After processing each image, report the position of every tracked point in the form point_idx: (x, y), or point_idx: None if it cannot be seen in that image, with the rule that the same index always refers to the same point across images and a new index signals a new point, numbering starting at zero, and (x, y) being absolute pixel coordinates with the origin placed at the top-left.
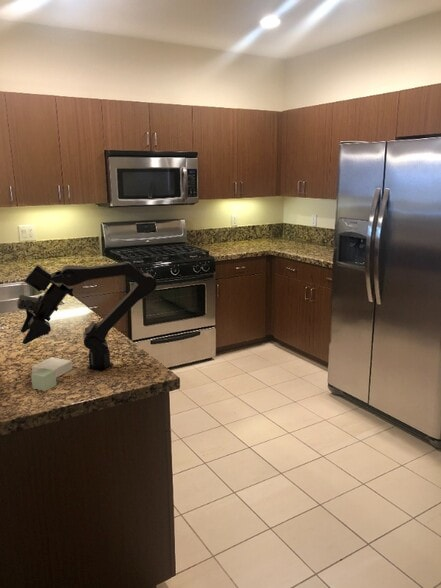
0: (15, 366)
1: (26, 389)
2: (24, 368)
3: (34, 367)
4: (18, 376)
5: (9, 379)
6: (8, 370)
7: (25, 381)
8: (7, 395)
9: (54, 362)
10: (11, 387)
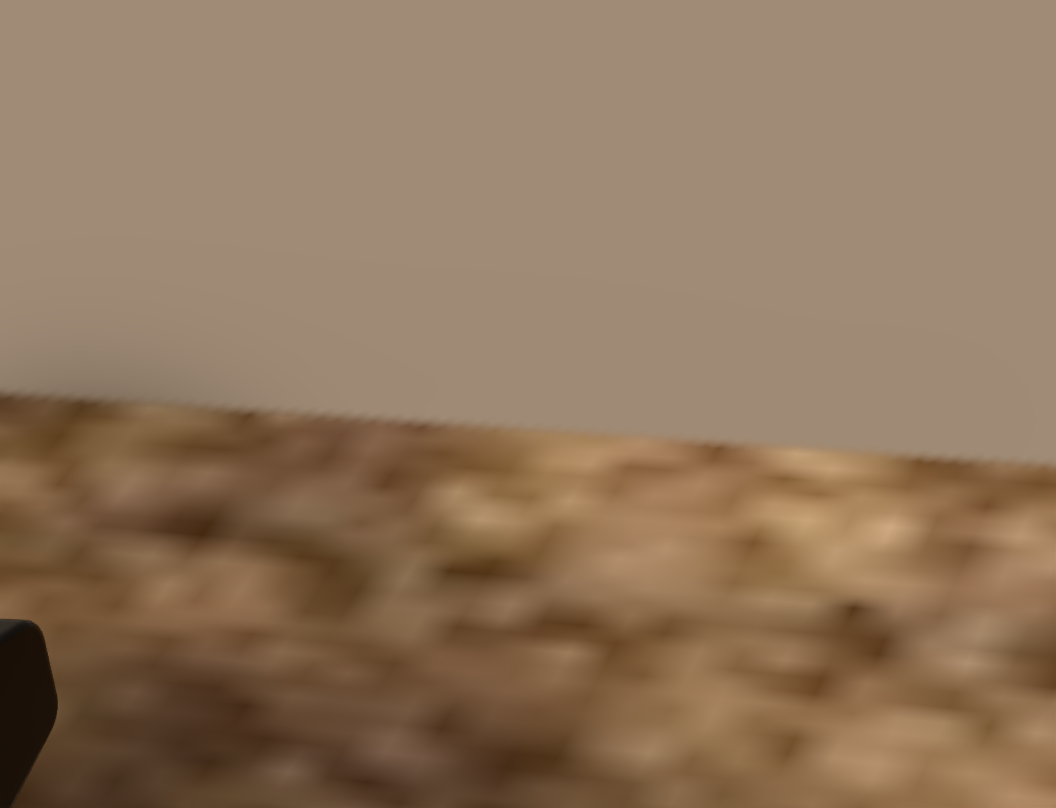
0: (1033, 602)
1: None
2: (888, 725)
3: None
4: (588, 605)
5: (536, 479)
6: (899, 494)
7: (337, 680)
8: (3, 415)
9: None
10: (233, 480)
